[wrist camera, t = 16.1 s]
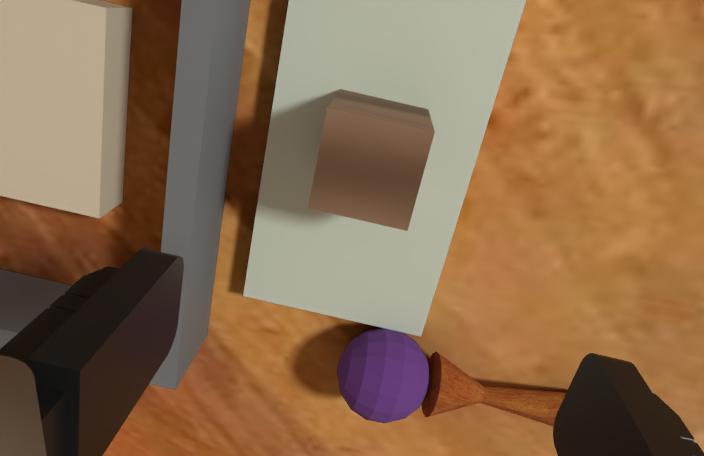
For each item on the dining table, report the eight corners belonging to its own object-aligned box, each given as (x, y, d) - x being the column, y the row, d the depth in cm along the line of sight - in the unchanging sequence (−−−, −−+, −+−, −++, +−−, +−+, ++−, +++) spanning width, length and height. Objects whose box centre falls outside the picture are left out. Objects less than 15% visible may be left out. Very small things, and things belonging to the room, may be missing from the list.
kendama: (618, 487, 36) (325, 432, 35) (589, 413, 41) (333, 361, 40) (666, 434, 33) (346, 370, 31) (629, 360, 38) (352, 301, 36)
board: (312, -118, 28) (307, -124, 26) (540, -64, 28) (547, -68, 27) (248, 285, 37) (242, 295, 36) (420, 324, 37) (420, 336, 36)
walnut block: (340, 89, 30) (327, 107, 25) (428, 109, 30) (434, 132, 25) (323, 173, 32) (307, 208, 27) (405, 192, 32) (407, 231, 27)
